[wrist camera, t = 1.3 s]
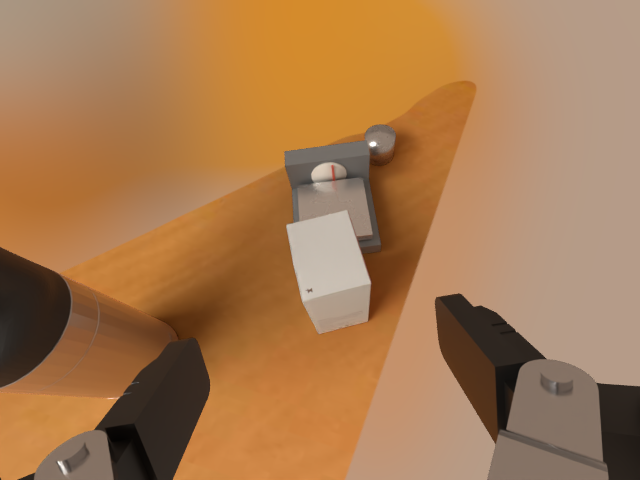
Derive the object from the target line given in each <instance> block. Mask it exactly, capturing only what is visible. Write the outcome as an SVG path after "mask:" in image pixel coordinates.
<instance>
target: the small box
mask: <svg viewBox="0 0 640 480" xmlns="http://www.w3.org/2000/svg"><path fill="white" fill-rule="evenodd" d="M286 227H287V233H288V238H289V244H290V249H291V254H292V260H293V265H294V270H295V273H296V277H297V281H298V286H299V290H300V295H301V299H302V302H303V304H304V306H305V308H306V310H307V312H308V314H309V316H310V318H311V320H312V322H313V324H314V326H315V328H316V330H317V332H318V334H321V333H325V332H329V331H333V330H337V329H340V328H344V327H348V326H352V325H356V324H360V323H364V322H368V319H369V306H370V293H371V283H372V282H371V279H370V276H369V273H368V269H367V266H366V263H365V260H364V257H363V254H362V251H361V248H360V245H359V242H358V239H357V236H356V233H355V230H354V227H353V224H352V221H351V218H350V215H349V212H348V210H344V211H340V212H336V213H333V214H328V215H324V216H320V217H316V218H312V219H308V220H304V221H299V222H295V223H291V224H287V226H286Z"/></svg>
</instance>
